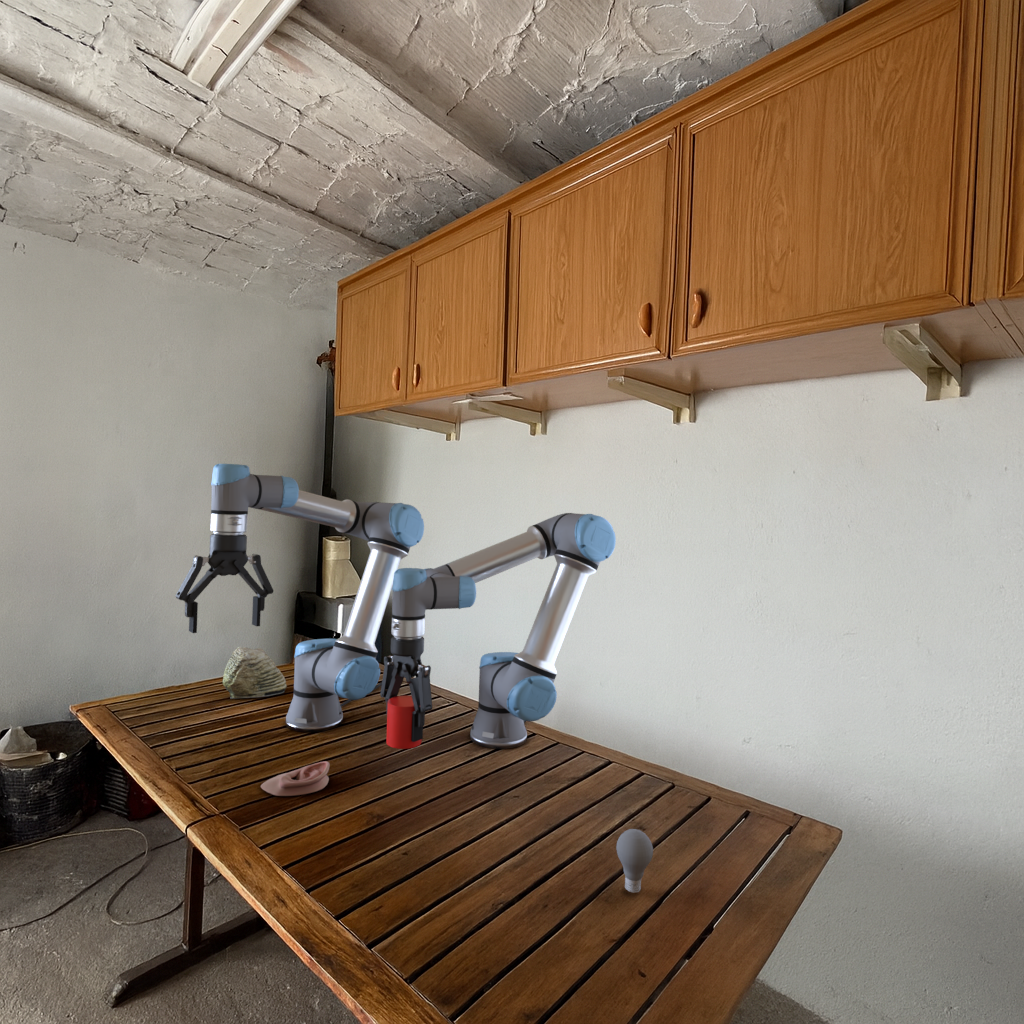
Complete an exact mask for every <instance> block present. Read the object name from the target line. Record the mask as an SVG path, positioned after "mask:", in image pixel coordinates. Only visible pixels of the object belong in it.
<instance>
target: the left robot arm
mask: <svg viewBox="0 0 1024 1024" xmlns="http://www.w3.org/2000/svg"><path fill="white" fill-rule="evenodd" d="M210 485H211V500H210V501H211V502H210V503H211V504H210V505H211V506H210V526H209V530H210V532H211V534H210V535H209V553H208V556H201V555H198V554H196V555H194V556H193V559H192V564H191V567H190V569H189V571H188V572H187V574H186V575H185V578H184V580H183V581H182V582H181V585H180V587H179V589H178V590H177V592H176V593H175V598H176V599H177V600H179V601H183V602H184V616H185V617H186V618H188V619H189V620H188V622H189V623H188V632H190V633H192V634H197V633H198V611H199V610H198V607H199V603H198V602H197V601H195V600H196V599H197V598H198V597H199V596H200V595H201V594H202V593H203V591H204V590H205V589H207V587H208V586H209V585H210V583H212V581H213V580H214V579H216V578H217V577H218V576H221V577H226V576H237V575H239V576H240V577H241V579H243V581H244V582H245V583H246V584H247V585H248V586H249V588H250V589H251V590H252V592H253V593H255V596H252V610H251V611H252V613H251V615H252V616H251V625H252V626H254V627H261V612H264V610H265V606H266V605H265V603H266V598H267V597H268V595H272V594H273V593H274V588H273V586H272V584H271V582H270V580H269V578H268V576H267V573H266V571H265V569H264V567H263V565H262V558H261V555H260V554H257V553H252V554H250V555H249V554H248V555H247V548H248V536H247V534H245V533H247V532H248V518H249V517H248V516H249V509H250V508H251V509H254V510H259V511H264V512H269V513H273V514H277V515H281V516H286V517H288V518H289V517H290V518H294V519H298V520H303V521H305V522H306V521H307V522H310V523H311V522H312V523H315V524H320V525H324V526H329V527H333V528H335V530H336V531H337V532H339V533H342V534H346V535H350V536H353V537H356V538H359V539H361V540H364V541H367V546H368V548H369V550H370V552H369V555H368V558H367V561H366V565H365V568H364V571H363V574H362V577H361V580H360V583H359V586H358V589H357V592H356V595H355V598H354V601H353V605H352V607H351V611H350V614H349V617H348V620H347V622H346V626H345V628H344V632H343V634H342V636H340V637H339V638H317V639H308V640H304V641H300V642H299V643H297V645H296V646H295V650H294V655H293V657H294V672H293V673H294V674H293V695H292V696H293V697H292V699H291V702H290V704H289V708H288V711H287V713H286V715H285V726H286V728H287V729H289V730H291V731H294V732H295V731H296V732H301V733H316V732H325V731H329V730H332V729H335V728H337V727H339V726H340V725H342V723H343V722H344V714H343V709H342V707H344V706H346V705H347V704H349V703H350V702H352V701H357V700H360V699H363V698H366V696H367V695H370V693H372V692H373V691H374V690H377V689H378V688H380V687H381V686H382V681H381V682H380V683H378V682H379V680H380V676H381V667H380V664H379V661H378V660H377V656H378V652H379V651H378V649H377V647H376V644H375V643H376V640H377V638H378V635H379V631H380V627H381V624H382V621H383V618H384V615H385V611H386V608H387V605H388V601H389V598H390V595H391V593H392V587H393V578H394V573H395V571H396V570H398V569H399V567H400V563H401V560H402V559H405V558H406V557H408V556H409V552H410V549H411V548H412V547H414V546H417V544H419V543H420V542H421V540H422V539H423V537H424V532H425V521H424V519H423V517H422V514H421V512H420V510H418V508H417V507H415V506H414V505H411V504H407V503H403V502H380V501H357V500H352V499H348V498H347V499H344V500H339V499H335V498H331V497H327V496H323V495H320V494H316V493H313V492H308V491H305V490H301V489H300V488H299V485H298V482H297V480H296V479H295V478H293V477H291V476H285V475H269V474H253V473H251V472H250V467H249V465H248V464H238V463H217V464H215V465H213V468H212V477H211V483H210ZM248 562H249V564H250V565H251V566H252V568H253V571H254V573H255V574H256V576H257V579H258V581H259V583H260V585H261V586H260V585H259V583H257V581H256V580H255V579H254V577H252V575H251V574H250V573H249V571H248V570H247V569H246V567H245V566H246V565H247V563H248ZM206 564H208V565H209V566H210V567H209V568H208V570H206V572H205V574H204V575H203V576H202V577H201V578H200V579H199V581H198V582H197V583H196V584H195V585H194V583H195V581H196V579H197V577H199V575H200V573H201V570H202V567H204V566H205V565H206ZM193 585H194V586H193ZM192 587H193V588H192ZM339 698H341V699H346V700H345V701H343V702H342V703H341V702H340V699H339Z"/></svg>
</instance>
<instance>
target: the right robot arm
mask: <svg viewBox="0 0 1024 1024" xmlns="http://www.w3.org/2000/svg"><path fill="white" fill-rule="evenodd" d="M616 539H617V538H616V533H615V531H614V528H613V525H612V524H611V523H610V521H608V520H607V518H605V517H603V516H601V515H596V514H593V513H575V512H574V513H573V512H564V513H560V514H557V515H554V516H552V517H549V518H547V519H544V520H542V521H540V522H537V523H535V524H532V525H529V526H528V527H527V529H526V531H525V532H522V533H520V534H517V535H515V536H513V537H510V538H508V539H505V540H503V541H500V542H497V543H495V544H492V545H490V546H487V547H485V548H483V549H479V550H477V551H475V552H473V553H470V554H468V555H465V556H462V557H460V558H457V559H455V560H452V561H450V562H448V563H445V564H442V565H440V566H437V567H435V568H431V567H427V568H417V567H402V568H398V570H396V571H395V573H394V578H393V586H392V589H391V591H392V592H391V593H392V595H391V596H392V599H391V602H392V605H391V606H392V607H391V608H392V609H391V631H390V632H391V635H392V637H391V638H390V653H391V655H387V656H384V657H383V665H384V666H383V674H382V680H381V682H382V685H381V686H380V693H379V694H380V697H381V698H384V701H385V702H386V707H385V709H386V710H385V714H387V708H388V700H389V699H390V698H393V697H397V696H399V692H400V690H401V687H402V684H403V681H404V679H405V682H406V683H407V684H408V686H409V691H410V696H412V700H413V704H414V708H415V711H414V712H412V737H411V741H412V742H415V741H418V740H421V739H422V740H423V739H424V727H425V724H426V722H425V721H426V713H427V712H429V711H432V710H433V700H432V699H433V698H432V689H431V688H432V686H431V670H432V667H431V665H424V664H423V663H422V662H423V661H422V657H421V656H422V655H423V654H424V652H425V638H424V635H425V634H426V633H425V632H426V631H425V629H426V628H425V627H426V611H427V610H450V609H451V610H452V609H455V610H456V609H458V610H461V609H467V608H471V607H473V605H474V604H475V602H476V600H477V599H476V598H477V586H476V583H479V582H481V581H484V580H486V579H489V578H491V577H494V576H496V575H498V574H501V573H503V572H506V571H508V570H511V569H513V568H515V567H518V566H520V565H522V564H525V563H528V562H530V561H532V560H535V559H539V560H544V559H547V558H549V557H554V559H555V562H556V566H555V569H554V571H553V573H552V576H551V578H550V581H549V584H548V586H547V588H546V591H545V594H544V596H543V598H542V601H541V603H540V606H539V609H538V612H537V613H536V616H535V618H534V621H533V623H532V627H531V629H530V631H529V634H528V636H527V639H526V641H525V644H524V646H523V649H522V650H521V652H514V651H497V652H488V653H484V654H483V655H482V656H481V657H480V662H479V667H478V669H479V675H478V676H479V677H478V680H479V681H478V707H477V711H476V714H475V716H474V719H473V723H472V726H470V727H471V728H470V735H469V738H470V740H471V742H473V743H474V744H476V745H477V746H481V747H484V748H487V749H488V748H489V749H495V750H496V749H497V750H500V749H501V750H503V749H512V748H513V749H514V748H517V747H520V746H522V745H524V744H526V742H527V740H528V732H527V731H528V730H527V728H526V726H525V724H526V723H527V722H537V721H539V720H541V719H543V718H545V717H547V715H549V714H550V713H551V711H552V710H553V709H554V707H555V704H556V703H557V699H558V698H557V696H558V693H557V690H556V686H555V684H554V682H555V680H556V678H557V675H558V671H557V669H556V666H555V663H556V660H557V657H558V655H559V653H560V650H561V648H562V645H563V642H564V640H565V637H566V635H567V632H568V630H569V627H570V624H571V622H572V619H573V617H574V615H575V612H576V609H577V606H578V604H579V601H580V598H581V597H582V593H583V591H584V588H585V587H586V586H585V585H586V583H587V581H588V578H589V577H590V576H591V575H594V574H596V573H597V572H598V568H599V566H600V563H601V562H604V561H606V559H609V558H610V557H611V556H612V555H613V553H614V551H615V548H616V542H617V541H616ZM419 706H420V707H419Z"/></svg>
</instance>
